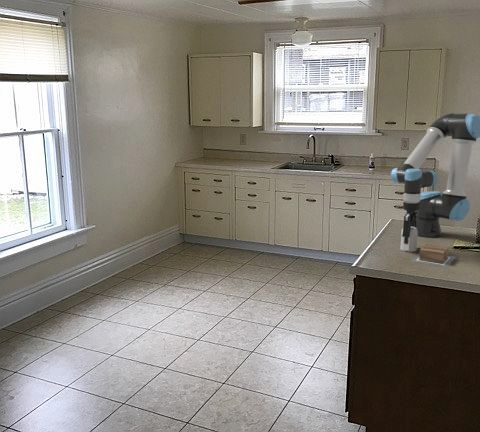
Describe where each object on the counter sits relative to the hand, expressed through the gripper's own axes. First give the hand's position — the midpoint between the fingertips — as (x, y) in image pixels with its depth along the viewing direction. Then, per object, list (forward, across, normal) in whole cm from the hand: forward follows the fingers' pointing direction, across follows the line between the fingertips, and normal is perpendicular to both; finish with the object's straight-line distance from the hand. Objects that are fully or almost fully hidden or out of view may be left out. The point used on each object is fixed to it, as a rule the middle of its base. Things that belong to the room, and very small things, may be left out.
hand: (408, 247), depth 254 cm
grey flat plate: (+2, +9, +14) cm, 17 cm away
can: (+2, 0, 0) cm, 2 cm away
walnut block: (+1, +9, +14) cm, 17 cm away
